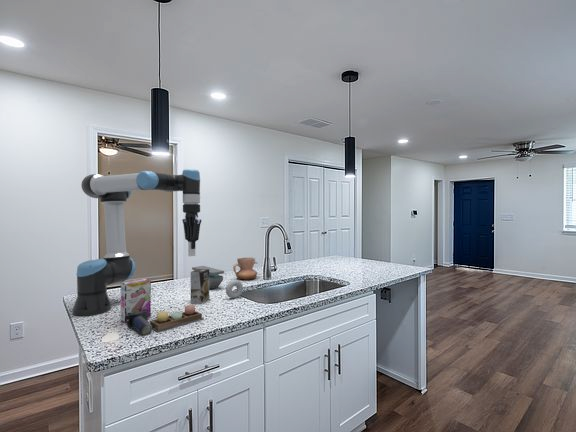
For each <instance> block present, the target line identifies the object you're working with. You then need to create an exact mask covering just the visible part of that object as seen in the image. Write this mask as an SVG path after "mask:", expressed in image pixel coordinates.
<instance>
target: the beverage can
mask: <svg viewBox="0 0 576 432" xmlns="http://www.w3.org/2000/svg"><path fill="white" fill-rule="evenodd" d="M147 314H148V312H147V309H145V310H143V311H141V312H136V313H132V314H131V313H128V315H127V316H125V319H126V320H128V321H127V323H126V327H127V329H128V330H132V329H136V330H137V331H138V332H139V333H140V334H141V335H142V336H143V335H144V336H145V335H148V334H150V333H151V332H152V326H151V324H150V321H148V318H149V317H148V315H147Z"/></svg>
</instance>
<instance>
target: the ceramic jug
mask: <svg viewBox="0 0 576 432" xmlns="http://www.w3.org/2000/svg"><path fill="white" fill-rule="evenodd" d="M236 262H237V263H235V264H234V265H233V266H232V267H233V268H232V269H233V272H234V274H235V276H236V278H237V279H238V280H243V281H249V280H254V279H255V278H256V277H257V276H258V272H257V271H256V270H255V269H254V266H255V264H259V262H258V261H256V257H253V256H252V257H251V256H249V257H248V256H247V257H239V258H237V260H236ZM236 267H238V268H240V269H239V270H238V271H236Z"/></svg>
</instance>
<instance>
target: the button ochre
mask: <svg viewBox="0 0 576 432" xmlns="http://www.w3.org/2000/svg"><path fill="white" fill-rule="evenodd" d="M168 316H169V311H160V312H157V313H156V319H157V321H166V320H168Z"/></svg>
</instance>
